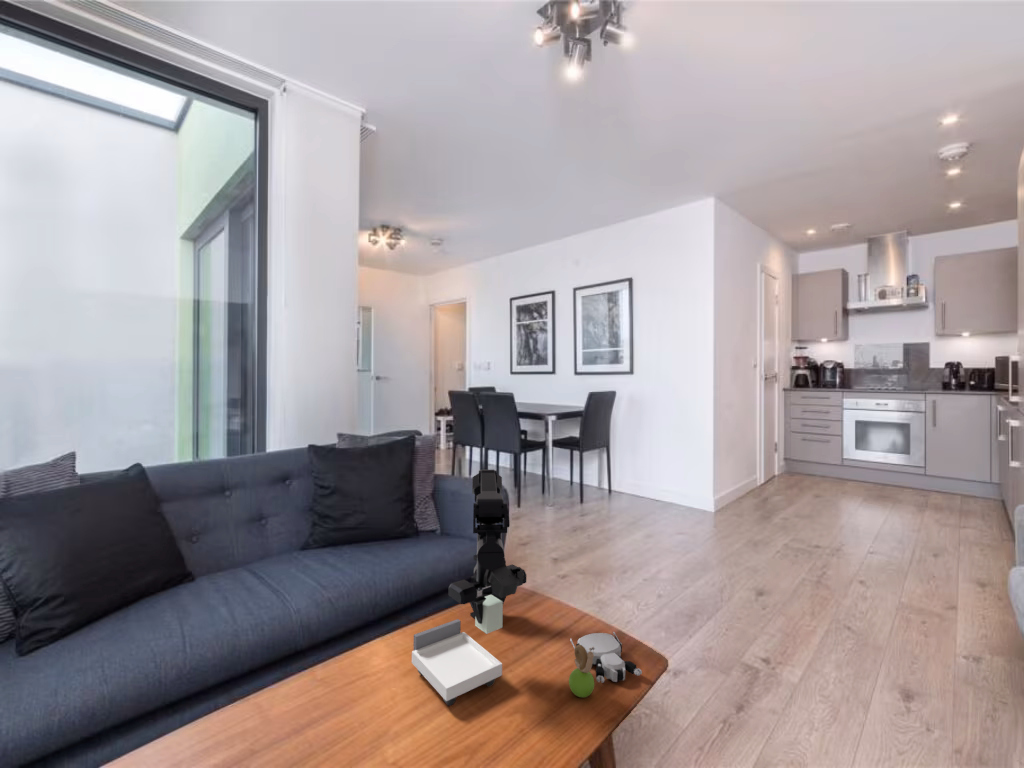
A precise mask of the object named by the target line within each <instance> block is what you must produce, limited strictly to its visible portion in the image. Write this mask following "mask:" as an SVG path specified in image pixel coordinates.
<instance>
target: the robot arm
mask: <svg viewBox="0 0 1024 768" xmlns="http://www.w3.org/2000/svg"><path fill="white" fill-rule="evenodd" d="M471 478H472V480H471V481H472V482H471V483H472V484H471V485H472V486H471V488H472V489H471V490H472V491H471V492H472V493H471V494H472V495H474V502H473V510H472V512H473V514H472V515H473V517H472V518H473V520H472V521H473V524H472V526H473V527H472V528H473V529H472V530H473V531H472V533H473V534H476V554H474V555H473V561H475V562H476V564H475V566H474V568H473V575H472V576H470V579H471V580H470V582H469V581H468V580H466V579H461V580H458V581H454V582H451V583H450V584H449V586H448V597H450V598H451V599H453V600H454V601H456V603H458V604H460V605H466V604H470V606H471V609H472V612H470V616H471V617H472V618H473V619H475V616H476V619H477V621H478V623H479V624H482V619H483V602H484V601H485V600H486V598H485V596H488V595H493V596H494V597H496V598H498V599H499V600H501V601H503V605H504V603H505V601H506V598H507V597H508V596H510V595H515V594H516V592H517V590H518V587H520V586H523V584H526V583H527V573H526V571H525V570H524V569H523V568H522V567H521V566H516V565H514V564H509V565H507V561H506V558H505V557H506V556H505V550H504V544H503V538H502V537H503V534H508V528H510V527H511V526H510V508H509V507H508V503H507V502H504V496H503V495H502V492H503V476H501V475H500V474H498V470H495V469H480V470H478V473H477V474H475V475H474V476H472V477H471ZM476 524H477V526H476Z"/></svg>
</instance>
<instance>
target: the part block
mask: <svg viewBox="0 0 1024 768" xmlns="http://www.w3.org/2000/svg"><path fill="white" fill-rule="evenodd" d="M485 598H486V600H485V601H484V602H483V619H482V624H479V623H478V621H477V619H476V616H475V618H474V625H475V627H477V628H478V629H479V630H480V631H482V632H483V633H485V634H486V635H488V634H489V633H493V632H495V631H497V630H500V629H503V617H504V616H503V614H504V613H503V611H504V610H503V606H504V604H503V601H501V600H499V599H498V598H496V597H494V596H493V595H488V596H485Z"/></svg>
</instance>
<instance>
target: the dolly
mask: <svg viewBox="0 0 1024 768" xmlns="http://www.w3.org/2000/svg"><path fill="white" fill-rule="evenodd" d="M461 624H462V623H461V620H460V619H459V618H457V619H454V620H451V621H449V622H445V623H444V624H440V625H438V626H434V627H431V628H429V629H426V630H424V631H420V632H417V633H415V634H413V650H412V651H411V664H412V665H413V666H414V667H415V668H416V669H417V673H418V674H419V675H420V676H422V677H424V678H425V679H426V681H428V683H429V684H430V685H431V686H432V688H434V689H435V690H436V692H437V693H438V694H439V695H440V696H441V697H442V698H443V701H444V702H445V704H446V705H447V706H449V707H450V706H452V705H454V704H455V703H456V700H457V697H458V696H461V695H463V694H466V693H467V692H469V691H472V690H475V689H476V688H478V687H480V686H482V685H486V686H487V687H493V685H494V684H495V682H496V679H497V678H499V677H501V676H503V663H502V662H501V661H500V660H499V659H497V658H496V656H494V655H492V654H491V652H489V651H488V650H487V649H486V648H484V647H483V646H482V645H481V644H479V643H478V642H477V641H476V640H475V639H473V638H472V637H471V636H470V635H469V634H468V633H466V632H465V631H463V632H461Z"/></svg>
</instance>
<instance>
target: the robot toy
mask: <svg viewBox="0 0 1024 768" xmlns="http://www.w3.org/2000/svg"><path fill="white" fill-rule="evenodd" d="M612 634H613V635H612ZM612 634H610V633H608V632H607V633H605V632H594V633H590V634H589V633H588V634H586V635H583V636H582V637H579V638H578V640H577V643H576V644H574V642H573V640H572V639H573V638H570V640H569V641H570V643H571V645H572V646H573V649H574V650H575V647H576V646H577V645H582V646H583V647H584V648H585V649H586V651H587V654H588V652H589V651H590V650H589V648H592V647H594V650H591V652H593V654H594V657H593V663H592V665H596V668H595V679H596V682H597V683H605V678H606V679H607V680H611V681H612V682H614V683H618V682H622V681H625V680H626V672H628V673H630V675H635V676H641V675H642V673H643V672H642V670H641V669H640V667H639V668H638V666H637V664H635V663H633V662H632V661H631V660H630V661H629V660H626V661H625V660H623V658H622V656H621V655H622V654H621V653H622V652H623V643H622V642H621V641H620V640H619V638H618V636H617V634H616V632H615V631H612Z"/></svg>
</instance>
